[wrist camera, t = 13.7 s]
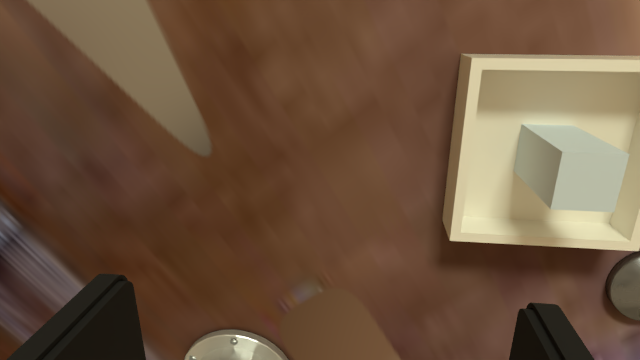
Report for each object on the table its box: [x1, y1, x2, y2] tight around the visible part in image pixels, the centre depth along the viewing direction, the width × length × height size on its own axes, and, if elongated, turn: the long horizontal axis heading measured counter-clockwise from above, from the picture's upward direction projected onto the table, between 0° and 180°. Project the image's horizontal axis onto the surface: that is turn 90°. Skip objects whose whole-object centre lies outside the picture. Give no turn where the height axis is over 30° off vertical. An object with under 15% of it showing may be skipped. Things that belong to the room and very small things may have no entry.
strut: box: [514, 124, 630, 212], centre depth 32 cm, size 4×4×8 cm
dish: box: [442, 54, 640, 251], centre depth 34 cm, size 15×15×4 cm
